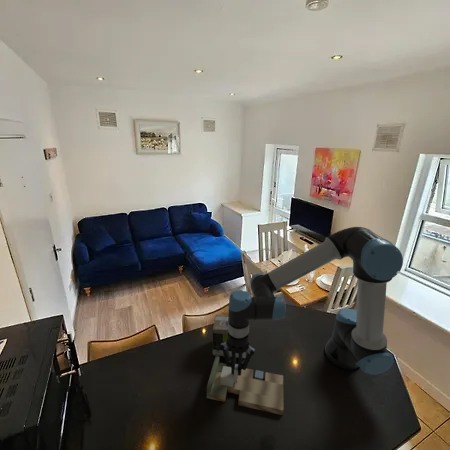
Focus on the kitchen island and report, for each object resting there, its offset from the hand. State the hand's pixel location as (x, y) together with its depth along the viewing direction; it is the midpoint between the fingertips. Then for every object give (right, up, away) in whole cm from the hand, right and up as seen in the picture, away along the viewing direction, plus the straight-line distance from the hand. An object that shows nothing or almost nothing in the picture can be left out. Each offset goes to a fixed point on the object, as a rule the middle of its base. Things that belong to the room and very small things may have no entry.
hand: (235, 379), depth 99 cm
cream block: (-3, -1, +1) cm, 3 cm away
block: (+9, -3, +4) cm, 11 cm away
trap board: (+4, -4, +1) cm, 6 cm away
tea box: (-2, +3, +19) cm, 19 cm away
